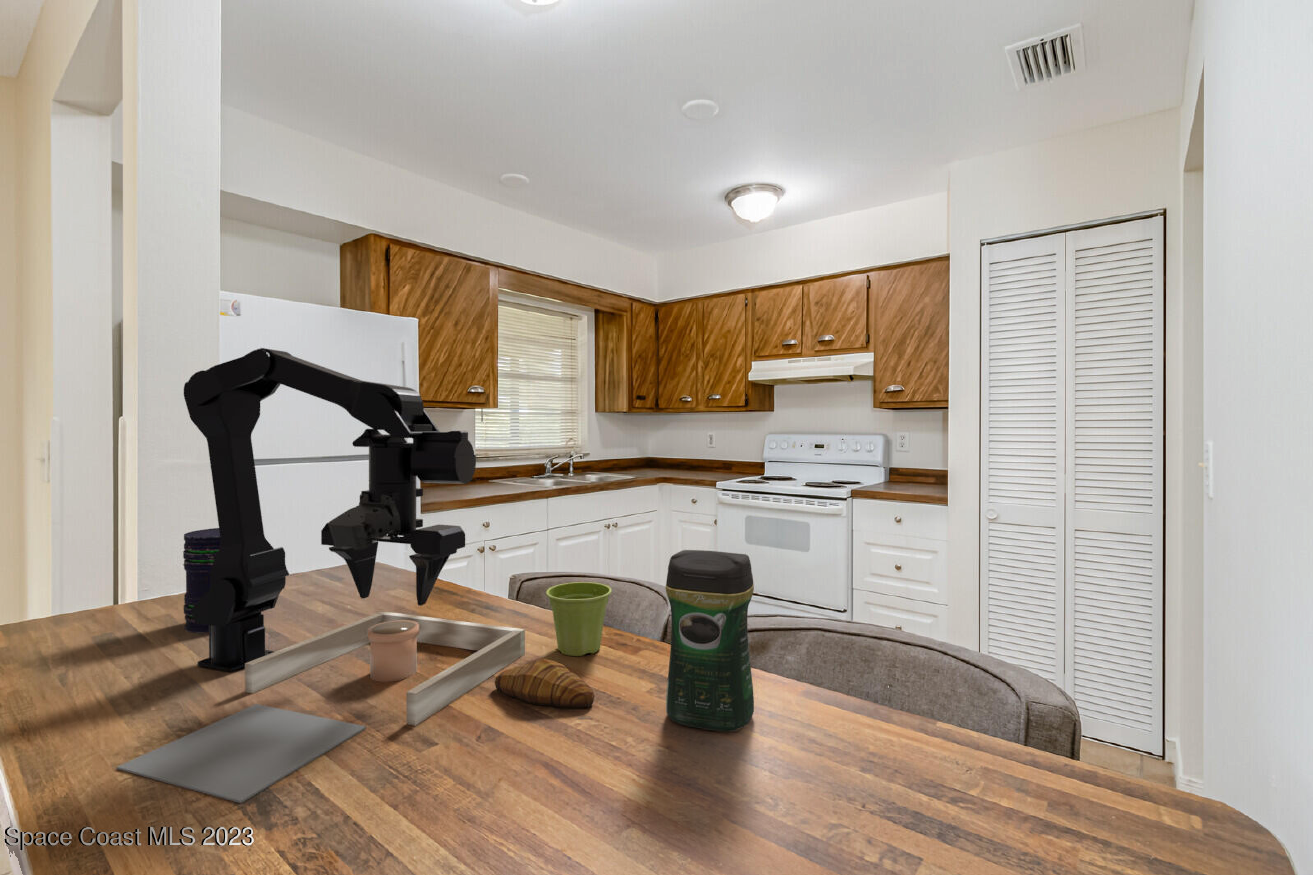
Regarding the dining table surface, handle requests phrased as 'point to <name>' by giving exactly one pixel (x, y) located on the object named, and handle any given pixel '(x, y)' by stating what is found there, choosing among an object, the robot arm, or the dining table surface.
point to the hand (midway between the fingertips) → (392, 601)
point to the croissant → (545, 685)
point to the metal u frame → (443, 688)
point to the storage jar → (198, 570)
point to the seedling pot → (393, 650)
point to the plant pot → (579, 615)
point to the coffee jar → (709, 640)
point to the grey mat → (243, 752)
